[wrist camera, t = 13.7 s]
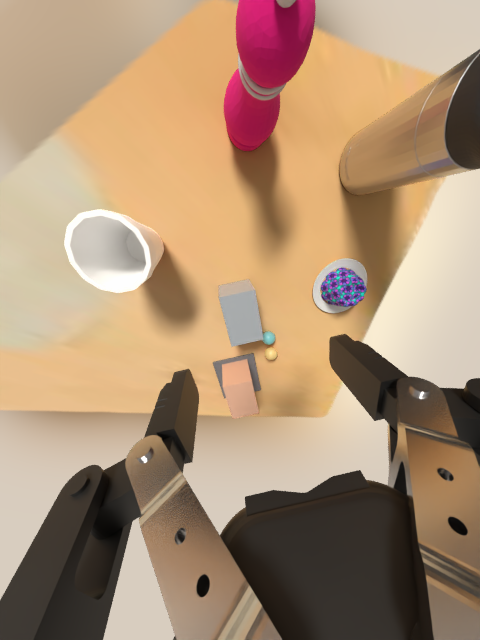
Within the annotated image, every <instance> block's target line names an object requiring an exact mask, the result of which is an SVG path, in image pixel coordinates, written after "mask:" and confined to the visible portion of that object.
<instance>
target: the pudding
mask: <svg viewBox="0 0 480 640" xmlns="http://www.w3.org/2000/svg"><path fill="white" fill-rule="evenodd" d="M340 267H346V268H350V269H351V270H346V269H345V268H340ZM337 268H338V269H337ZM334 269H337V270H336V271H335V272H331V271H332V270H334ZM352 270H353V271H352ZM328 273H329V274H328ZM327 274H328V275H327ZM326 275H327V276H326ZM325 276H326V280H325V281H324V282H323V283H322V281H323V279H324V278H325ZM321 283H322V285H321ZM366 285H367V273H366V270H365V268H364V266H363V265H362V264H361V263H360V262H358V261H357V260H354V259H350V258H344V259H339V260H336V261H334V262H332V263H330V264H329V265H327V266H326V267H325V268H324V269H323V270H322V271H321V272H320V274H319V275H318V276H317V278H316V280H315V283H314V286H313V298H314V301H315V304H316V305H317V306H318V307H319V308H320V309H321V310H323V311H325V312H328V313H339V312H342V311H345V310H347V309H349V308H351V307H352V306H355V305H357V303H358V302H359V301H361V300H362V299H363V298H364V294H365V292H366V290H367V289H366ZM320 286H321V290H322V291H323V292H322V294H321V295H320ZM321 296H322V298H323V299H324V300H326V301H328V303H329V304H327V303H326V302H324V301H323V299H322V298H321ZM330 304H332V305H330Z"/></svg>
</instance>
